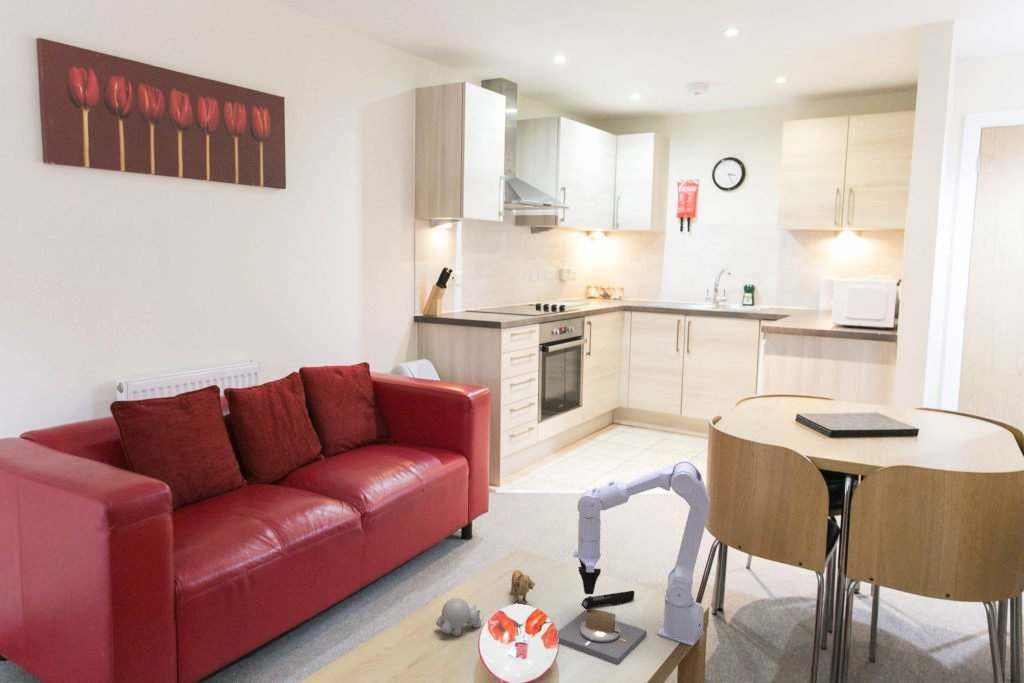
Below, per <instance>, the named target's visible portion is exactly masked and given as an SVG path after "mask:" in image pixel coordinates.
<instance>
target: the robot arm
mask: <svg viewBox="0 0 1024 683" xmlns="http://www.w3.org/2000/svg"><path fill="white" fill-rule="evenodd" d="M657 488H660V489H662V490H665V491H667V492H670V490H671V489H672V491H673V492H674V493H675V494H677V495H678V496H679V497H681V498H682V499H683V500H685V502H686V503H687V505H688V506H689V509H688V515H687V518H686V523H685V526H684V530H683V533H682V538H681V542H680V546H679V550H678V554H677V559H676V561H675V564H674V567H673V568H672V570H671V571H670V572H669V573H668V576H667V587H666V590H665V595H664V608H663V609H664V613H663V627H662V628H661V629H659V631H658V632H657V635H658V636H660V637H664V638H667V639H669V640H673V641H676V642H679V643H682V644H686V645H689V646H693V647H694V646H695V644H696V643H697V642H698V640H700V638H701V637H702V636H703V635H704V634H705V631H704V614H705V613H704V607H703V606H702V605H700V604H698V603H696V601H695V598H694V597H693V592H692V591H693V583H694V580H693V576H694V570H695V567H696V562H697V560H698V559H697V558H698V554H699V550H700V549H701V548H700V547H701V543H702V539H703V536H704V532H705V528H706V524H707V520H708V517H709V511H710V507H711V498H710V495H709V493H708V490H707V488H706V485H705V482H704V479H703V476H702V472H700V471H699V469H698V468H697V466H695V465H694V464H693V463H692V462H690V461H687V460H686V461H678V462H677V463H676V464H674V463H673V464H668V465H666V466H663V467H661V468H660V469H657V470H655V471H652V472H650V473H648V474H647V473H646V474H645V475H643V476H640V477H638V478H635V479H632V480H631V481H629V482H624V481H620V480H618V481H615V480H613V479H612V480H610V481H609V482H608V484H606V485H604V486H602V487H598V488H597V487H594V488H592V489H591V490H585V491H583V493H582V494H581V495H580V498H579V500H578V502H577V505H576V506H577V511H578V517H579V518H578V530H577V531H578V532H577V534H578V536H577V537H578V538H577V539H578V540H577V550H575V551H573V553H572V554H573V557H575V558H578V560H579V563H580V566H578V573H579V575H580V576H581V580H582V584H583V585H582V586H583V593H584V594H585V595H594V591H595V588H596V583H597V580H598V578H599V576H600V574H601V573H602V571H601V570H602V569H601V568H595V566H596V564H597V562H599V560H600V559H601V555H602V554H601V525H602V524H601V523H602V522H601V511H607V510H609V509H612V508H615V507H617V506H621V505H623V504H626V503H628V501H629V499H630V497H631V496H634V495H637V494H641V493H644V492H647V491H650V490H653V489H657Z"/></svg>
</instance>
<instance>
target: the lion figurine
mask: <svg viewBox="0 0 1024 683" xmlns="http://www.w3.org/2000/svg"><path fill="white" fill-rule="evenodd" d="M510 585H511V588H510V589H511V590H510V592H509V594H510V595H512V596H513V595H514V602H513V604H514V603H518V604H519V596H520V597H522V599H521V601H522V603H523V604H527V603H528V600H527V599H526V597H527V594H528V593H529V591H530V590H531V591H532V590H534V588H535V585H536V583H535V582H534V581H532V579H531V578H530V576H529V574H523V572H522V571H521V570H520V569H516V570H514V571H513V573H512V575H511V584H510Z"/></svg>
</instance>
